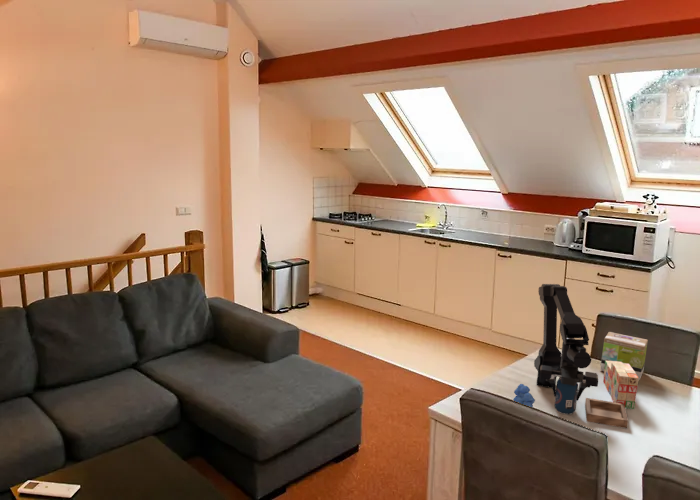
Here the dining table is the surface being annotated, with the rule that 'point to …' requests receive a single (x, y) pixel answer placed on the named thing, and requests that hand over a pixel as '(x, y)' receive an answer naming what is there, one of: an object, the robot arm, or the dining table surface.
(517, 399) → the grapes
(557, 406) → the soda can
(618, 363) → the stack of blocks
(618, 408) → the brown open box
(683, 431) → the dining table surface
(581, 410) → the dining table surface
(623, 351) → the tea box
